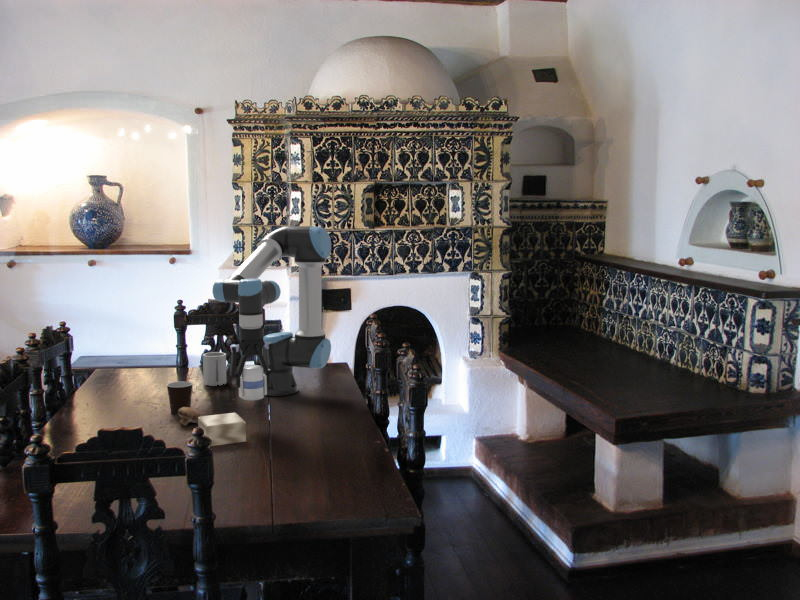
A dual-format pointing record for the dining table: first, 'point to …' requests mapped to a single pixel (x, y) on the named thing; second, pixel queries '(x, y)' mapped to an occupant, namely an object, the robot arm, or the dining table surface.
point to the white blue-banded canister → (253, 382)
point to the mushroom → (188, 415)
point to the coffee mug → (179, 395)
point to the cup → (214, 368)
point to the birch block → (223, 428)
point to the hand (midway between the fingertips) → (252, 395)
